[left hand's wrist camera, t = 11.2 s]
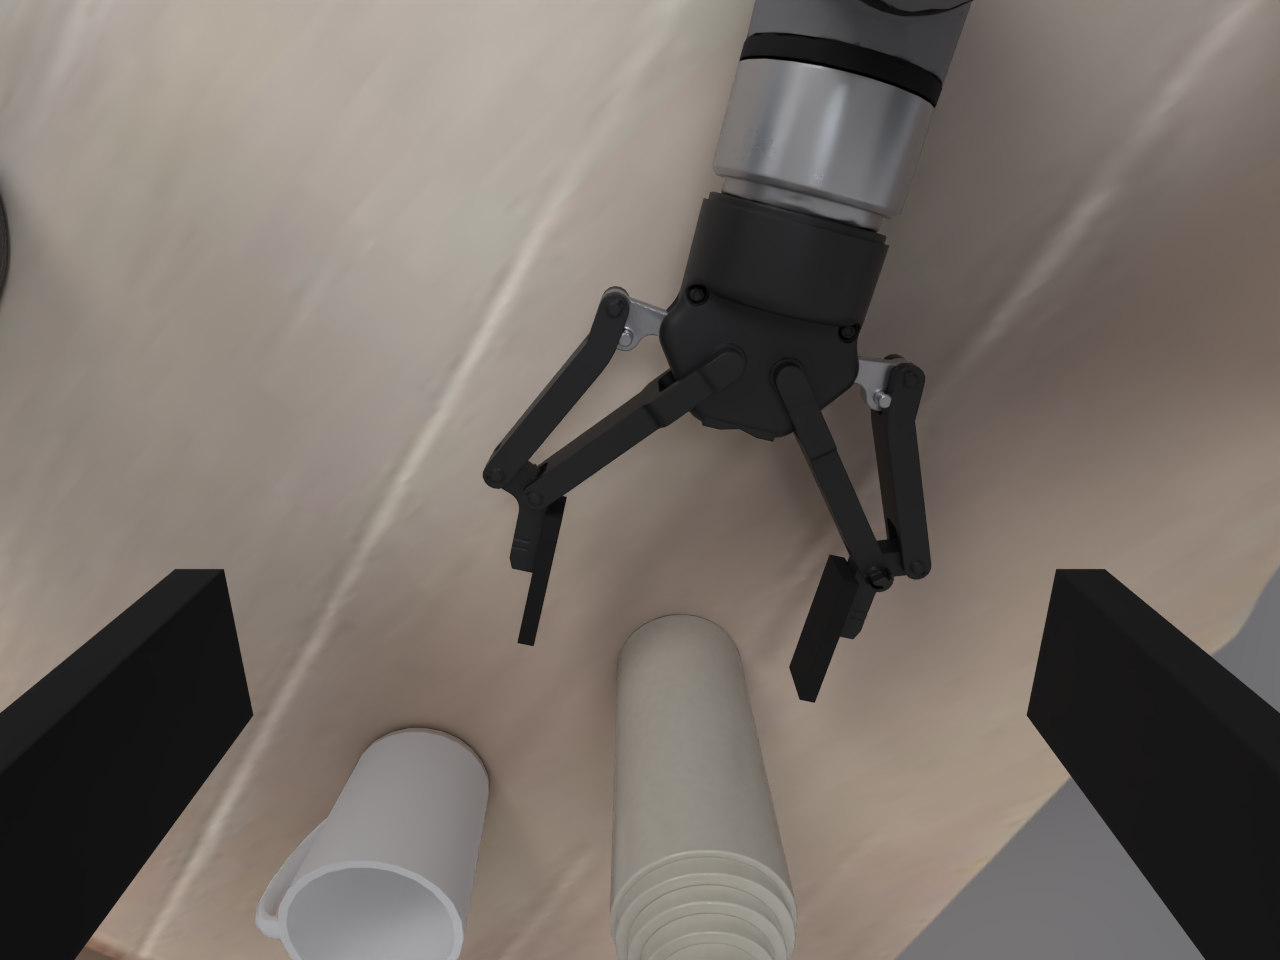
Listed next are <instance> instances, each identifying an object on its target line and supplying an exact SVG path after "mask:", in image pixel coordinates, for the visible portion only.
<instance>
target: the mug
mask: <svg viewBox="0 0 1280 960" xmlns="http://www.w3.org/2000/svg"><path fill="white" fill-rule="evenodd" d="M488 795H489V779H488V774H487V772H486V770H485V767H484V765H483V763H482V761H481V759H480V758H479V757H478V756H477V754H476V753H475V752H474V751H473V750H472V748H471V747H469V746H468V745H467V744H465V743H464V742H463V741H461V740H460V739H459V738H456V737H454V736H452V735H450V734H447V733H445V732H443V731H438V730H433V729H428V728H407V729H402V730H398V731H394V732H391V733H389V734H387V735H385V736H383V737H381V738H379V739H377V740H375V741H374V742H373V743H372V744H371V745H370V746H369V747H368V748H367V749H366V750H365V751H364V752H363V754H362V756H361V757H360V759H359V761H358V763H357V765H356V767H355V769H354V770H353V772H352V774H351V776H350V778H349V780H348V781H347V783H346V785H345V787H344V789H343V790H342V792H341V794H340V796H339V798H338V799H337V801H336V803H335V805H334V807H333V809H332V810H331V812H330V814H329V816H328V818H326V819H325V820H324V821H322V822H321V823H320V824H319V825H318V826H317V827H316V828H315V829H314V830H313V831H312V832H311V833H310V834H309V835H308V836H307V837H306V838H305V839H304V840H303V841H302V842H301V843H300V845H299V846H298V847H297V848H296V849H295V850H294V851H293V853H292V854H291V855H290V856H289V857H288V858H287V860H286V861H285V862H284V864H283V865H282V866H281V868H280V869H279V870H278V872H277V873H276V874H275V876H274V877H273V878H272V880H271V881H270V883H269V885H268V886H267V888H266V890H265V892H264V893H263V895H262V897H261V899H260V900H259V902H258V904H257V910H256V918H255V921H256V926H257V927H258V929H259V930H260V931H261V932H262V933H263V934H264V935H265V936H266V937H268V938H276V939H281V942H282V943H283V945H284V947H285V948H286V950H287V952H288V953H289V955H290V957H291V958H292V959H293V960H457V959H458V957H459V955H460V951H461V947H462V943H463V939H464V935H465V930H466V924H467V918H468V912H469V907H470V901H471V895H472V889H473V883H474V877H475V871H476V865H477V860H478V854H479V848H480V842H481V836H482V830H483V824H484V818H485V813H486V807H487V801H488ZM289 886H290V887H289ZM288 887H289V888H288ZM287 889H288V890H287ZM286 890H287V892H286ZM285 892H286V894H285V896H284V898H283V899H282V897H283V895H284V893H285ZM281 899H282V901H281V904H280V906H279V913H278V916H275V912H276V908H277V906H278V904H279V902H280V900H281Z"/></svg>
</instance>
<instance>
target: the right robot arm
mask: <svg viewBox="0 0 1280 960" xmlns="http://www.w3.org/2000/svg"><path fill="white" fill-rule="evenodd" d="M972 1H973V0H756V2H755V6H754V10H753V14H752V19H751V23H750V27H749V31H748V35H747V39H746V41H745V42H744V45H743V49H742V53H741V57H740V61H739V64H738V68H737V72H736V75H735V79H734V83H733V87H732V91H731V95H730V99H729V102H728V106H727V110H726V114H725V118H724V122H723V126H722V129H721V133H720V137H719V141H718V145H717V149H716V153H715V157H714V160H713V164H712V167H713V169H714V171H715V173H716V175H718V176H721V177H723V178H724V182H723V187H722V194H721V193H717V192H710V196H709V199H705V198H704V199H703V203H702V207H701V211H700V215H699V219H698V223H697V226H696V230H695V234H694V238H693V242H692V246H691V250H690V254H689V258H688V262H687V266H686V270H685V274H684V278H683V282H682V286H681V289H680V291H679V294H678V296H677V298H676V299H675V301H674V302H673V303H672V305H671V306H670V307H669V308H668V309H667V310H664V309H661V308H659V307H656V306H653V305H651V304H648V303H645V302H642V301H640V300H637V299H634V298H632V297H629V295H628V293H627V292H626V290H624V289H623V288H621V287H617V286H614V287H610V288H608V289H607V290H606V291H605V292H604V294H603V296H602V298H601V301H600V304H599V307H598V310H597V313H596V316H595V319H594V322H593V325H592V328H591V331H590V333H589V334H588V336H587V337H586V338H585V339H584V341H583V342H582V343H581V344H580V345H579V347H578V348H577V349H576V350H575V352H574V353H573V354H572V355H571V356H570V358H569V359H568V360H567V361H566V363H565V364H564V365H563V366H562V367H561V369H560V370H559V371H558V372H557V374H556V375H555V376H554V377H553V379H552V380H551V381H550V382H549V383H548V385H547V386H546V387H545V388H544V390H543V391H542V392H541V393H540V394H539V396H538V397H537V398H536V399H535V401H534V402H533V403H532V404H531V405H530V407H529V408H528V409H527V410H526V412H525V413H524V414H523V415H522V417H521V418H520V419H519V420H518V421H517V423H516V424H515V425H514V426H513V428H512V429H511V430H510V431H509V432H508V434H507V435H506V436H505V437H504V439H503V440H502V441H501V442H500V443H499V445H498V446H497V447H496V448H495V450H494V452H493V454H492V455H491V457H490V459H489V461H488V463H487V465H486V467H485V469H484V471H483V478H484V481H485V483H486V484H487V485H488V486H490V487H492V488H496V489H500V488H502V489H504V490H505V491H507V492H509V493H510V494H512V495H513V496H514V497H515V498H516V499H517V501H518V503H519V514H518V519H517V524H516V529H515V534H514V539H513V544H512V549H511V554H510V561H511V566H512V568H513V569H517V570H522V571H527V572H532V578H531V583H530V587H529V592H528V597H527V601H526V606H525V610H524V615H523V620H522V624H521V629H520V634H519V638H518V643H520V644H525V645H530V646H534V642H535V637H536V633H537V629H538V624H539V620H540V615H541V611H542V606H543V602H544V597H545V593H546V588H547V584H548V579H549V575H550V570H551V566H552V561H553V557H554V553H555V548H556V544H557V539H558V535H559V530H560V526H561V521H562V517H563V512H564V507H565V503H566V498H567V497H564V496H563V495H564V494H566V493H567V492H569V491H570V490H572V489H573V488H574V487H576V486H577V485H579V484H580V483H582V482H583V481H584V480H586V479H587V478H589V477H590V476H592V475H593V474H594V473H596V472H597V471H599V470H600V469H602V468H603V467H604V466H606V465H607V464H609V463H610V462H612V461H613V460H614V459H616V458H617V457H619V456H620V455H622V454H623V453H624V452H626V451H627V450H629V449H630V448H632V447H633V446H634V445H636V444H637V443H639V442H640V441H641V440H643V439H644V438H646V437H647V436H649V435H650V434H651V433H653V432H654V431H656V430H657V429H659V428H662V427H666V426H668V425H670V424H671V423H673V422H674V421H675V420H677V419H678V418H680V417H681V416H683V415H684V414H685V413H687V412H688V411H690V413H691V414H692V415H693V416H694V417H696V418H697V419H698V420H700V421H701V422H702V425H703V426H707V427H712V428H716V429H740V430H742V431H744V432H746V433H748V434H750V435H752V436H754V437H756V438H760V439H764V440H768V441H773V440H774V438H777V437H782V436H786V435H788V434H790V433H792V432H793V433H794V436H795V438H796V440H797V441H798V443H799V445H800V448H801V450H802V452H803V454H804V456H805V459H806V461H807V463H808V465H809V467H810V470H811V472H812V474H813V476H814V478H815V481H816V483H817V485H818V487H819V489H820V491H821V494H822V496H823V498H824V500H825V502H826V505H827V507H828V509H829V511H830V513H831V516H832V518H833V520H834V522H835V524H836V527H837V529H838V531H839V533H840V535H841V538H842V540H843V542H844V544H845V546H846V549H847V551H848V553H849V555H850V556H849V559H848V562H847V561H846V560H845V558H843V557H839V556H834V555H829V557H828V560H827V563H826V566H825V569H824V571H823V574H822V577H821V580H820V583H819V585H818V588H817V591H816V594H815V597H814V599H813V602H812V605H811V608H810V611H809V613H808V616H807V619H806V622H805V625H804V627H803V630H802V633H801V636H800V639H799V641H798V644H797V647H796V650H795V653H794V655H793V658H792V661H791V664H790V666H789V668H790V671H791V674H792V677H793V680H794V683H795V687H796V690H797V693H798V696H799V699H800V700H804V701H809V702H814V703H815V701H816V698H817V695H818V693H819V690H820V687H821V685H822V682H823V679H824V677H825V674H826V671H827V669H828V666H829V663H830V661H831V658H832V656H833V653H834V650H835V648H836V645H837V642H838V640H839V637H844V638H849V639H854V638H855V637H856V636H857V635H858V633H859V632H860V631H861V629H862V626H863V624H864V620H865V619H866V616H867V612H868V611H869V608H870V606H871V603H872V601H873V598H874V595H875V593H876V592H882V591H885V590H887V589H889V588H890V587H891V585H892V584H893V580H894V578H893V577H894V576H903V575H907V576H908V577H909V578H911V579H921V578H924V577H925V576H926V575H928V573H929V572H930V570H931V558H930V550H929V541H928V532H927V523H926V514H925V506H924V497H923V488H922V479H921V470H920V461H919V453H918V444H917V435H916V426H915V419H916V415H917V411H918V407H919V403H920V399H921V395H922V391H923V387H924V383H925V375H924V373H923V371H922V370H921V369H920V368H919V367H917V366H916V365H914V364H912V363H911V362H909V361H908V360H906V359H905V358H903V357H902V356H900V355H897V354H891V355H888V356H886V357H885V358H884V359H878V358H870V357H862V356H858V355H857V339H858V335H859V332H860V330H861V327H862V325H863V322H864V319H865V316H866V313H867V310H868V307H869V304H870V301H871V298H872V295H873V292H874V289H875V286H876V283H877V280H878V277H879V274H880V271H881V268H882V265H883V262H884V259H885V257H886V254H887V251H888V248H889V245H885V244H884V243H885V240H886V236H885V235H881V234H878V233H876V232H877V231H878V230H879V227H880V223H881V220H882V218H887V219H892V218H894V217H896V216H897V215H899V214H901V211H902V208H903V205H904V202H905V199H906V195H907V192H908V189H909V186H910V183H911V180H912V177H913V173H914V170H915V167H916V164H917V161H918V158H919V155H920V151H921V148H922V145H923V142H924V139H925V136H926V133H927V130H928V126H929V123H930V120H931V117H932V114H933V110H934V108H935V106H936V104H937V101H938V98H939V95H940V93H941V90H942V85H943V82H944V79H945V76H946V73H947V70H948V68H949V65H950V62H951V59H952V56H953V53H954V51H955V48H956V45H957V42H958V39H959V36H960V33H961V31H962V28H963V25H964V22H965V19H966V16H967V14H968V11H969V8H970V5H971V2H972ZM648 335H656V336H659V339H660V343H661V346H662V348H663V351H664V353H665V356H666V358H667V361H668V363H669V366H670V369H668V370H667V371H665V372H664V373H663V374H661V375H660V376H658V377H657V378H656V379H654V380H653V381H651V382H650V383H649V384H648V385H647V386H646V387H645V388H644V389H643V390H642V391H641V392H640V393H639V394H637V395H636V396H634V397H633V398H632V399H630V400H629V401H627V402H626V403H625V404H623V405H622V406H620V407H619V408H618V409H616V410H615V411H613V412H612V413H611V414H609V415H608V416H607V417H605V418H604V419H602V420H601V421H600V422H598V423H597V424H595V425H594V426H593V427H591V428H590V429H588V430H587V431H586V432H584V433H583V434H581V435H580V436H579V437H577V438H576V439H574V440H573V441H572V442H570V443H569V444H567V445H566V446H565V447H563V448H562V449H560V450H559V451H558V452H556V453H555V454H553V455H552V456H551V457H549V458H548V459H546V460H545V461H544V462H542V463H541V464H539V465H538V466H537V465H536V464H532V463H531V462H529V461H528V460H529V459H530V457H531V456H532V455H533V454H534V453H535V451H536V450H537V449H538V448H539V447H540V445H541V444H542V443H543V442H544V441H545V439H546V438H547V437H548V436H549V435H550V433H551V432H552V431H553V430H554V429H555V427H556V426H557V425H558V424H559V423H560V422H561V420H562V419H563V418H564V417H565V416H566V414H567V413H568V412H569V411H570V410H571V408H572V407H573V406H574V405H575V404H576V402H577V401H578V400H579V399H580V398H581V396H582V395H583V394H584V393H585V392H586V390H587V389H588V388H589V387H590V386H591V384H592V383H593V382H594V381H595V380H596V378H597V377H598V376H599V375H600V374H601V372H602V371H603V370H604V368H605V367H606V366H607V364H608V363H609V361H610V360H611V358H612V356H613V354H614V353H615V350H616V349H619V350H622V351H629V350H631V349H633V348H635V347H636V346H637V344H638V343H639V341H640V340H641V339H642V338H643V337H645V336H648ZM853 383H857V384H859V386H860V390H861V398H862V400H863V401H864V402H865V403H866V404H867V405H868V406H869V407H870V408H871V420H872V429H873V436H874V444H875V451H876V459H877V466H878V474H879V481H880V489H881V496H882V504H883V511H884V519H885V526H886V534H887V540H878V541H876V539H875V537H874V534H873V532H872V530H871V527H870V525H869V523H868V521H867V518H866V516H865V514H864V512H863V509H862V507H861V505H860V502H859V500H858V498H857V496H856V493H855V491H854V489H853V486H852V484H851V482H850V480H849V477H848V475H847V473H846V471H845V468H844V466H843V464H842V461H841V459H840V457H839V455H838V452H837V448H836V445H835V443H834V440H833V438H832V436H831V434H830V431H829V429H828V427H827V425H826V422H825V420H824V418H823V415H822V413H821V410H822V409H823V408H825V407H826V406H827V405H829V404H830V403H831V402H832V401H834V400H835V399H836V398H838V397H839V396H840V395H841V394H843V393H844V392H845V391H847V390H848V389H849V388H850V387H851V386H852V385H853Z"/></svg>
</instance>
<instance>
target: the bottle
mask: <svg viewBox="0 0 1280 960" xmlns="http://www.w3.org/2000/svg"><path fill="white" fill-rule="evenodd" d="M796 924H797V908H796V903H795V899H794V894H793V890H792V886H791V881H790V877H789V872H788V868H787V863H786V859H785V855H784V850H783V846H782V841H781V837H780V832H779V828H778V823H777V819H776V815H775V810H774V806H773V801H772V797H771V792H770V788H769V784H768V779H767V775H766V770H765V766H764V761H763V757H762V753H761V748H760V744H759V739H758V735H757V730H756V726H755V722H754V717H753V713H752V708H751V704H750V699H749V695H748V691H747V686H746V682H745V677H744V673H743V668H742V664H741V660H740V655H739V652H738V649H737V647H736V645H735V643H734V642H733V640H732V639H731V637H730V636H729V635H728V634H727V633H726V632H725V631H724V630H723V629H722V628H720V627H719V626H717V625H716V624H714V623H712V622H710V621H708V620H706V619H703V618H700V617H696V616H691V615H670V616H665V617H661V618H658V619H655V620H652V621H650V622H648V623H646V624H645V625H643V626H642V627H640V628H639V629H638V630H636V631H635V632H634V633H633V634H632V635H631V636H630V637H629V639H628V640H627V641H626V643H625V644H624V646H623V648H622V650H621V653H620V656H619V660H618V669H617V701H616V733H615V765H614V797H613V829H612V861H611V893H610V930H611V935H612V938H613V941H614V944H615V947H616V953H617V956H618V959H619V960H790V958H791V956H792V952H793V949H794V945H795V929H796Z"/></svg>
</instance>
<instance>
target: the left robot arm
mask: <svg viewBox="0 0 1280 960" xmlns="http://www.w3.org/2000/svg"><path fill="white" fill-rule="evenodd" d="M6 256H7V240H6V228H5V221H4V215H3V211H2V206H1V202H0V290H1V287H2V283H3V279H4V274H5V268H6ZM252 716H253V711H252V706H251V702H250V697H249V692H248V687H247V682H246V677H245V672H244V667H243V662H242V657H241V652H240V647H239V642H238V637H237V632H236V627H235V622H234V617H233V612H232V607H231V602H230V598H229V593H228V588H227V583H226V578H225V573H224V569H175V570H174V571H172V572H171V573H170V574H169V575H168V576H166V577H165V578H164V579H163V580H162V581H160V582H159V583H158V584H157V585H155V586H154V587H153V588H152V589H151V590H149V591H148V592H147V593H146V594H145V595H143V596H142V597H141V598H140V599H138V600H137V601H136V602H135V603H134V604H132V605H131V606H130V607H129V608H127V609H126V610H125V611H124V612H123V613H121V614H120V615H119V616H118V617H117V618H115V619H114V620H113V621H112V622H110V623H109V624H108V625H107V626H106V627H104V628H103V629H102V630H101V631H100V632H98V633H97V634H96V635H95V636H93V637H92V638H91V639H90V640H89V641H87V642H86V643H85V644H84V645H83V646H81V647H80V648H79V649H78V650H76V651H75V652H74V653H73V654H72V655H70V656H69V657H68V658H67V659H66V660H64V661H63V662H62V663H61V664H59V665H58V666H57V667H56V668H55V669H53V670H52V671H51V672H50V673H49V674H47V675H46V676H45V677H44V678H42V679H41V680H40V681H39V682H38V683H36V684H35V685H34V686H33V687H31V688H30V689H29V690H28V691H27V692H25V693H24V694H23V695H22V696H21V697H19V698H18V699H17V700H16V701H14V702H13V703H12V704H11V705H10V706H8V707H7V708H6V709H5V710H4V711H2V712H1V713H0V960H75V958H76V957H77V956H78V954H79V953H80V951H81V950H82V949H83V947H84V946H85V945H86V943H87V942H88V941H89V939H90V938H91V936H92V935H93V934H94V932H95V931H96V930H97V928H98V927H99V925H100V924H101V923H102V921H103V920H104V919H105V917H106V916H107V915H108V913H109V912H110V910H111V909H112V908H113V906H114V905H115V904H116V902H117V901H118V900H119V898H120V897H121V895H122V894H123V893H124V891H125V890H126V889H127V887H128V886H129V884H130V883H131V882H132V880H133V879H134V878H135V876H136V875H137V874H138V872H139V871H140V869H141V868H142V867H143V865H144V864H145V863H146V861H147V860H148V859H149V857H150V856H151V854H152V853H153V852H154V850H155V849H156V848H157V846H158V845H159V843H160V842H161V841H162V839H163V838H164V837H165V835H166V834H167V833H168V831H169V830H170V828H171V827H172V826H173V824H174V823H175V822H176V820H177V819H178V818H179V816H180V815H181V813H182V812H183V811H184V809H185V808H186V807H187V805H188V804H189V802H190V801H191V800H192V798H193V797H194V796H195V794H196V793H197V792H198V790H199V789H200V787H201V786H202V785H203V783H204V782H205V781H206V779H207V778H208V777H209V775H210V774H211V772H212V771H213V770H214V768H215V767H216V766H217V764H218V763H219V761H220V760H221V759H222V757H223V756H224V755H225V753H226V752H227V751H228V749H229V748H230V746H231V745H232V744H233V742H234V741H235V740H236V738H237V737H238V736H239V734H240V733H241V731H242V730H243V729H244V727H245V726H246V725H247V723H248V722H249V720H250V719H251V718H252ZM1027 716H1028V718H1029V719H1030V720H1031V722H1032V723H1033V725H1034V726H1035V727H1036V729H1037V730H1038V731H1039V733H1040V734H1041V736H1042V737H1043V738H1044V740H1045V741H1046V742H1047V744H1048V745H1049V746H1050V748H1051V749H1052V751H1053V752H1054V753H1055V755H1056V756H1057V757H1058V759H1059V760H1060V761H1061V763H1062V764H1063V766H1064V767H1065V768H1066V770H1067V771H1068V772H1069V774H1070V775H1071V777H1072V778H1073V779H1074V781H1075V782H1076V783H1077V785H1078V786H1079V787H1080V789H1081V790H1082V791H1083V793H1084V794H1085V796H1086V797H1087V798H1088V800H1089V801H1090V802H1091V804H1092V805H1093V807H1094V808H1095V809H1096V811H1097V812H1098V813H1099V815H1100V816H1101V818H1102V819H1103V820H1104V822H1105V823H1106V824H1107V826H1108V827H1109V828H1110V830H1111V831H1112V832H1113V834H1114V835H1115V837H1116V838H1117V839H1118V841H1119V842H1120V843H1121V845H1122V846H1123V848H1124V849H1125V850H1126V852H1127V853H1128V854H1129V856H1130V857H1131V859H1132V860H1133V861H1134V863H1135V864H1136V865H1137V867H1138V868H1139V869H1140V871H1141V872H1142V874H1143V875H1144V876H1145V878H1146V879H1147V880H1148V882H1149V883H1150V884H1151V886H1152V887H1153V889H1154V890H1155V891H1156V893H1157V894H1158V895H1159V897H1160V898H1161V899H1162V901H1163V902H1164V904H1165V905H1166V906H1167V908H1168V909H1169V910H1170V912H1171V913H1172V915H1173V916H1174V917H1175V919H1176V920H1177V921H1178V923H1179V924H1180V925H1181V927H1182V928H1183V930H1184V931H1185V932H1186V934H1187V935H1188V936H1189V938H1190V939H1191V941H1192V942H1193V943H1194V945H1195V946H1196V947H1197V949H1198V950H1199V951H1200V953H1201V954H1202V956H1203V957H1204V958H1205V960H1280V713H1279V712H1278V711H1276V710H1275V709H1274V708H1273V707H1272V706H1270V705H1269V704H1268V703H1267V702H1266V701H1264V700H1263V699H1262V698H1261V697H1259V696H1258V695H1257V694H1256V693H1255V692H1253V691H1252V690H1251V689H1250V688H1248V687H1247V686H1246V685H1245V684H1244V683H1242V682H1241V681H1240V680H1239V679H1238V678H1236V677H1235V676H1234V675H1233V674H1231V673H1230V672H1229V671H1228V670H1227V669H1225V668H1224V667H1223V666H1222V665H1221V664H1219V663H1218V662H1217V661H1216V660H1214V659H1213V658H1212V657H1211V656H1210V655H1208V654H1207V653H1206V652H1205V651H1204V650H1202V649H1201V648H1200V647H1199V646H1197V645H1196V644H1195V643H1194V642H1193V641H1191V640H1190V639H1189V638H1188V637H1187V636H1185V635H1184V634H1183V633H1182V632H1180V631H1179V630H1178V629H1177V628H1176V627H1174V626H1173V625H1172V624H1171V623H1170V622H1168V621H1167V620H1166V619H1165V618H1163V617H1162V616H1161V615H1160V614H1159V613H1157V612H1156V611H1155V610H1154V609H1153V608H1151V607H1150V606H1149V605H1148V604H1146V603H1145V602H1144V601H1143V600H1142V599H1140V598H1139V597H1138V596H1137V595H1135V594H1134V593H1133V592H1132V591H1131V590H1129V589H1128V588H1127V587H1126V586H1125V585H1123V584H1122V583H1121V582H1120V581H1118V580H1117V579H1116V578H1115V577H1114V576H1112V575H1111V574H1110V573H1109V572H1108V571H1106V570H1105V569H1056V573H1055V578H1054V583H1053V588H1052V593H1051V598H1050V602H1049V607H1048V612H1047V617H1046V622H1045V627H1044V632H1043V637H1042V642H1041V647H1040V652H1039V657H1038V662H1037V667H1036V672H1035V677H1034V682H1033V687H1032V692H1031V697H1030V702H1029V706H1028V711H1027Z"/></svg>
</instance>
